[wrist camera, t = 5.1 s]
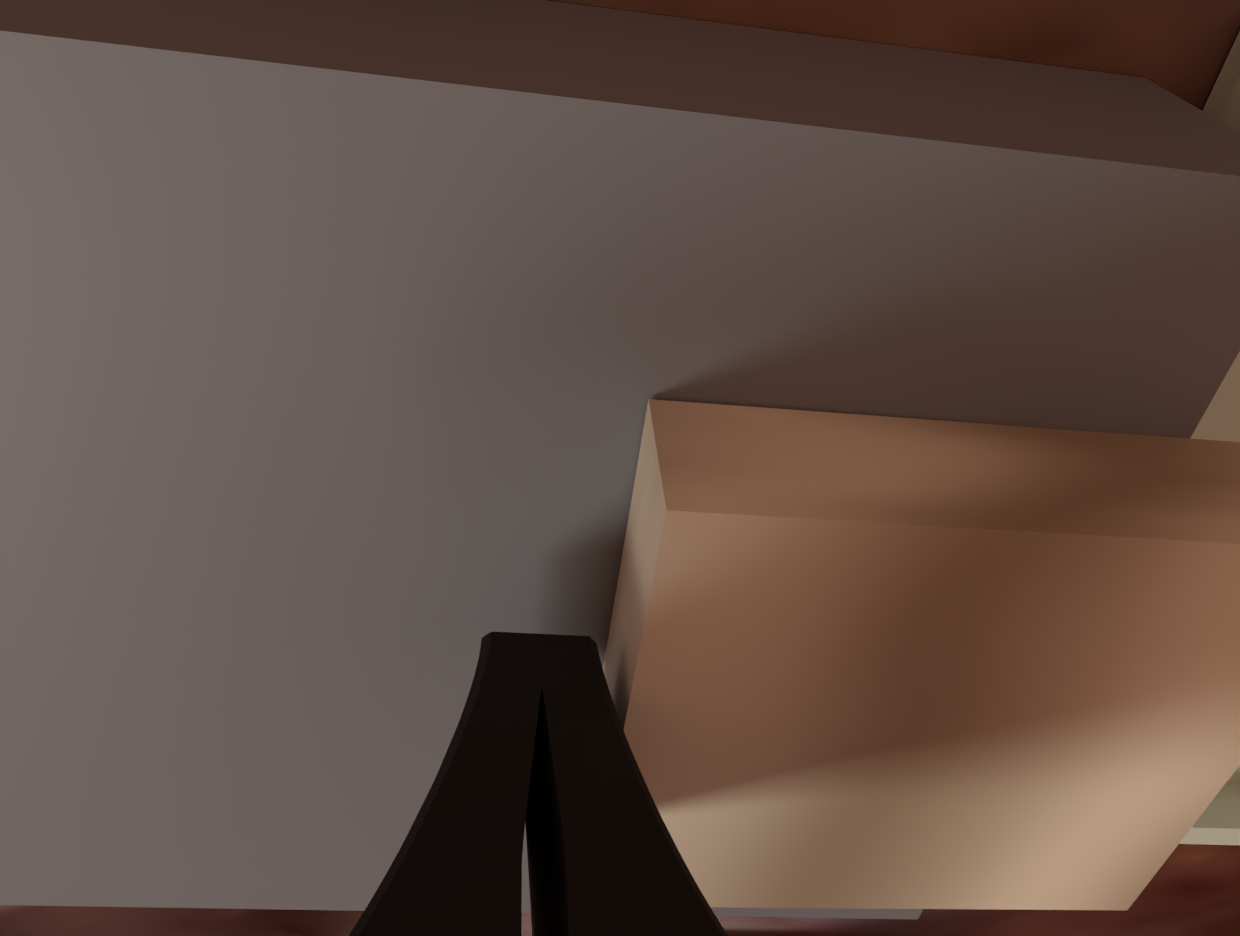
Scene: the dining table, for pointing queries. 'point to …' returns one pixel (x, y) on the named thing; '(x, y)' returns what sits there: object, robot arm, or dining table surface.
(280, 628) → the grey flat block
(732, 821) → the tile
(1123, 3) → the dining table surface
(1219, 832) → the tray
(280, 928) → the dining table surface
